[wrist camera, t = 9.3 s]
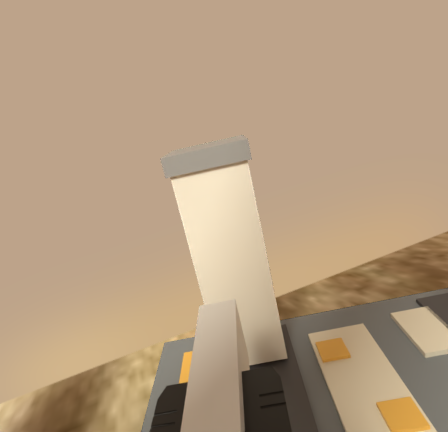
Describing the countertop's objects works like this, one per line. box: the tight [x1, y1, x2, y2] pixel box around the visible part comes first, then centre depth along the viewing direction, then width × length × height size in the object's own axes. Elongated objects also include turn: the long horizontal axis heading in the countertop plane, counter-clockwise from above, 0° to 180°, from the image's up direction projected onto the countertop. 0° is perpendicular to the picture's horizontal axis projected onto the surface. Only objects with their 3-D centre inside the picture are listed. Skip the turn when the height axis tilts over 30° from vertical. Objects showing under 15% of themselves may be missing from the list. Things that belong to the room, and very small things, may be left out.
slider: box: [161, 135, 288, 365], centre depth 21 cm, size 4×4×13 cm
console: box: [141, 288, 448, 432], centre depth 18 cm, size 23×14×2 cm, turn 90°
